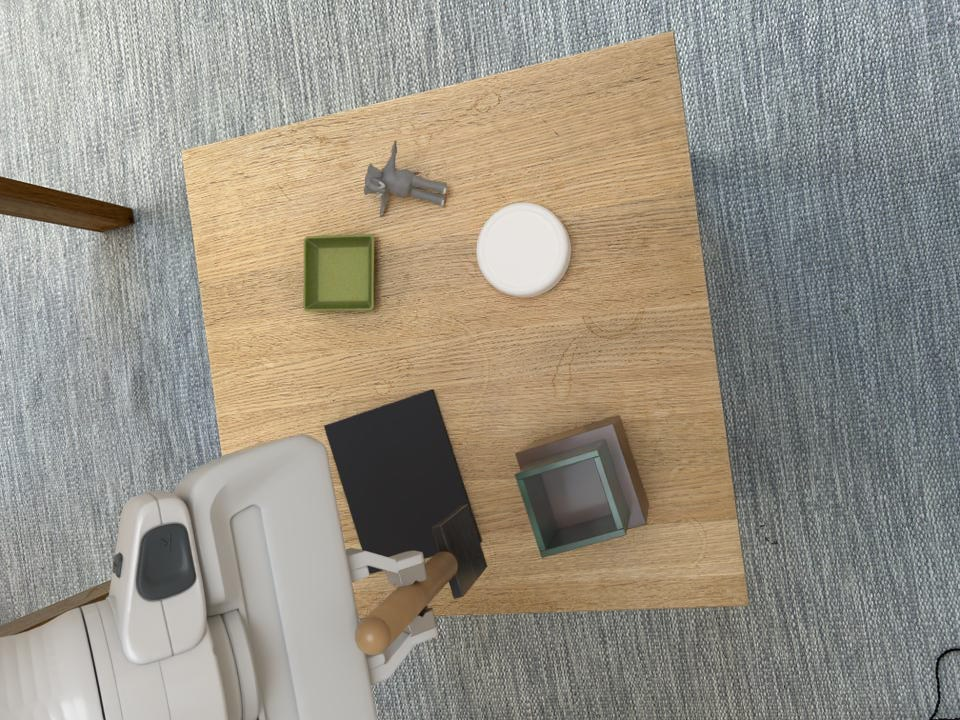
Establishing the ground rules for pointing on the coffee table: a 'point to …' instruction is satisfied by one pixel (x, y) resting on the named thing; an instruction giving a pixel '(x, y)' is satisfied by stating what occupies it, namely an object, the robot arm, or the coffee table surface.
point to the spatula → (427, 582)
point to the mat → (398, 475)
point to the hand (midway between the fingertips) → (426, 591)
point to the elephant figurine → (400, 183)
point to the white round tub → (523, 250)
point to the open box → (581, 487)
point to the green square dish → (339, 273)
